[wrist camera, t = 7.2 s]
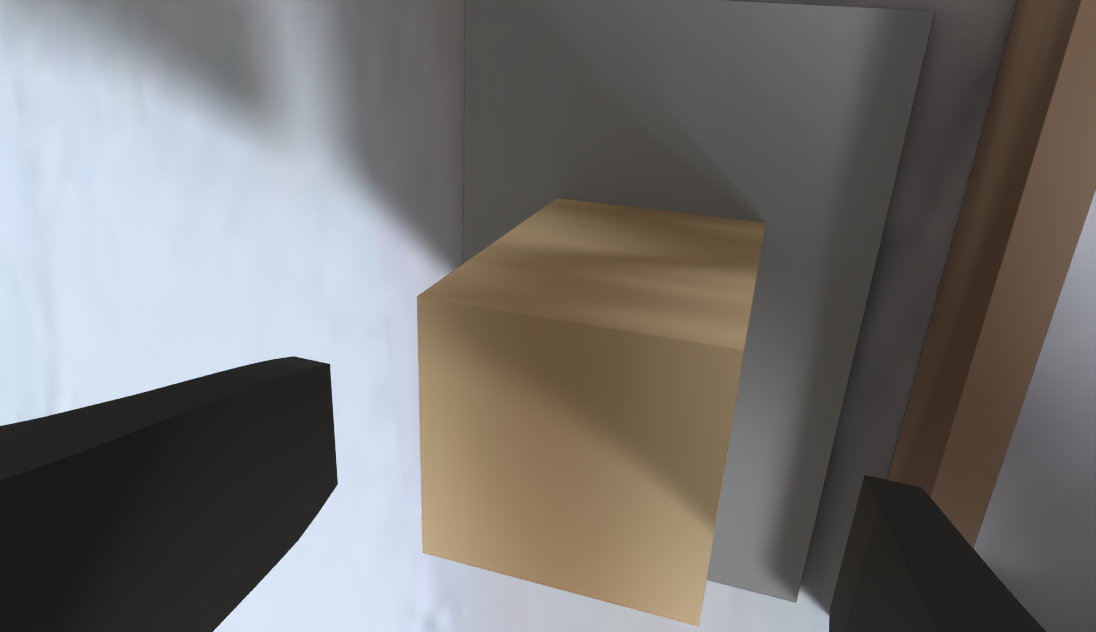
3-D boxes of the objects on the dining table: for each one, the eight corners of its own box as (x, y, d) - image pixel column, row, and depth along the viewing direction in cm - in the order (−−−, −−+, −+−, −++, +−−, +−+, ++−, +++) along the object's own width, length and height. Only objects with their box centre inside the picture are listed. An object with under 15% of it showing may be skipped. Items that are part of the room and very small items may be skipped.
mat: (931, 11, 12) (935, 10, 12) (796, 590, 16) (796, 602, 16) (473, -12, 14) (465, -13, 14) (466, 507, 19) (460, 516, 18)
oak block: (765, 222, 13) (744, 350, 8) (734, 413, 15) (698, 626, 10) (557, 198, 14) (416, 296, 9) (548, 378, 16) (422, 552, 11)
